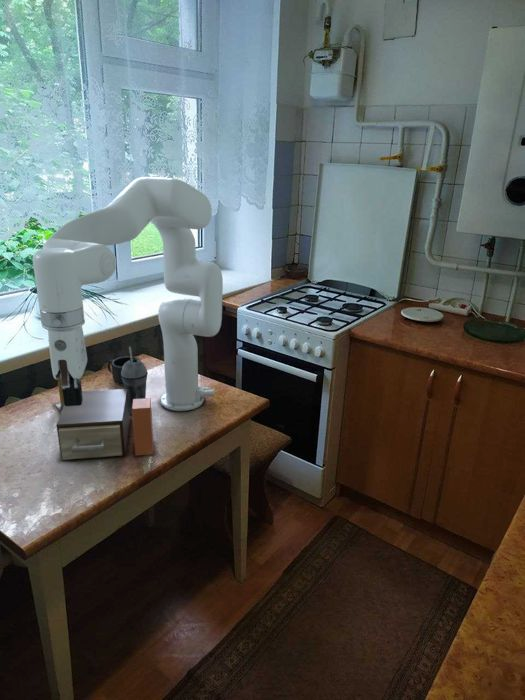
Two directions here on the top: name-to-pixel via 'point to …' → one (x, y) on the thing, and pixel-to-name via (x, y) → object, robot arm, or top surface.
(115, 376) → the mug
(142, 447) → the block
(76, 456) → the drawer
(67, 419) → the cabinet
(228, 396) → the top surface
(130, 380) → the beverage cup
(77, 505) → the top surface
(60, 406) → the condiment
